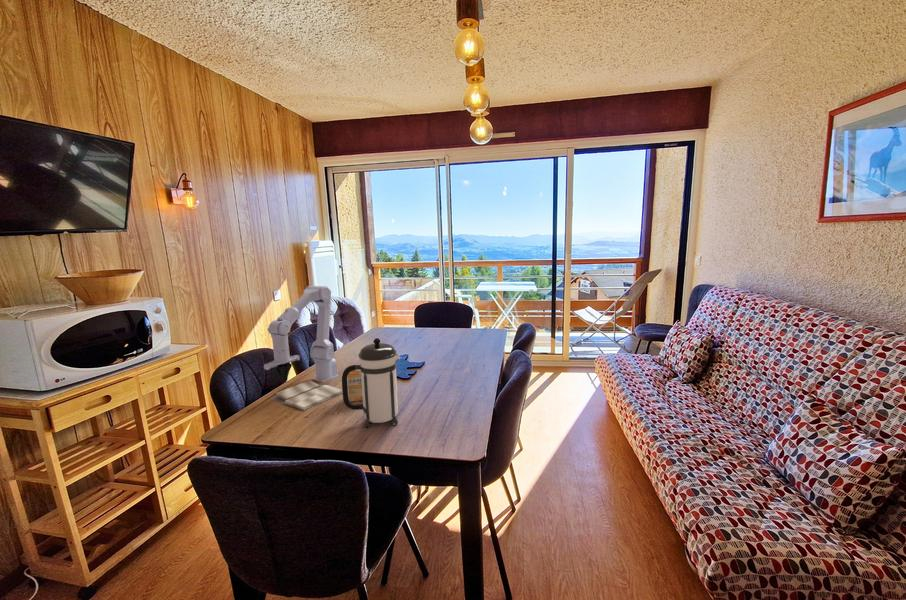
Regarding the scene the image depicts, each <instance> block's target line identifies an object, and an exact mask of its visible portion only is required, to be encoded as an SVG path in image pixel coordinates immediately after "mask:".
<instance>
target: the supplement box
mask: <svg viewBox="0 0 906 600" xmlns="http://www.w3.org/2000/svg"><path fill="white" fill-rule="evenodd" d="M347 385H348V398H349V401H350V402H351V403H352V402H358V401H363V395H362V380H361V371H360V369H359V370H354V371H351V372H349V374H348V375H347Z"/></svg>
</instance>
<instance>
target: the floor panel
mask: <svg viewBox="0 0 906 600" xmlns="http://www.w3.org/2000/svg"><path fill="white" fill-rule="evenodd" d="M319 385H320V384H319ZM341 395H343V392H342V388H338V387H335V386H332V385H327V384H323V385H322V384H321V385H320V387H318V388H315V389H313V390H310V391H308V392H305V393H303V394H300V395H298V396H295V397H293V398H290V399H288V400H286V401H285V400H284V399H282V398H280V397H278V396H277V395H276V396H274V397H272V398H270V400H271V401H275V402H278V403H281V404H283V405H285V406H288V407H292V408H293V409H297V410H299V411H301V412H305V411H307V410H309V409H310V410H311V409H312V408H314V407H315V406H318V405H320V404H323V403H325V402H328V401H329V400H332V399H333V398H336V397H338V396H341Z"/></svg>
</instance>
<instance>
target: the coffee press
mask: <svg viewBox="0 0 906 600" xmlns="http://www.w3.org/2000/svg"><path fill="white" fill-rule="evenodd" d="M358 358H359V364H352V365H348V366H347V367H345V368H344V371H343V372H342V376H341V389H342V392H343V394H342V399H343V401H342V402H343V403H344V405H345V407H347V409H350V410H354V411H355V410H357V411H359V410H362V411H363V417H364V419H365V422H364V425H363V428H365V429H369V428H370V427H371V426H372V424H381V423H386V422H390V423H391V424H392V426H396V425H398V423H399V421H398V420H397V416H398V414H399V402H398V386H397V384H398V383H397V382H398V381H397V367H398V366H397V360H401V359H402V358H401V356H400V354H398V353H397V350H396V349H395V348H394V346H392V345H391V344H389V343H383V342H381V339H380V338H376V337H375V338H374V340H373V343H371V344H367V345H365V346H364V347H362V348H361V349H360V351H359V353H358ZM359 369H360V371H361V380H362V395H363V400H362V403H359V404H355V403H352V402H350V401H349V395H348V378H347V375H348V374H349V372H351V371H354V370H359Z"/></svg>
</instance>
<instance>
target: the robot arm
mask: <svg viewBox="0 0 906 600" xmlns="http://www.w3.org/2000/svg"><path fill="white" fill-rule="evenodd" d="M331 297H332V290H331V289H330V288H329V287H328V286H327V285H308V286H306V287H305V289H303V294H302V295H300V297H299V298H298V299H297V301H296V303H294V305H293V306H291V307H286V308H285V309H284V311H283V313H282V314H280V315H279V316H278V317H277V319H276V320H272V321H271V322H270V323H269V324H268V328H267V332H268V333H269V335H270V338H271V339H272V347H273V358H274V360H272V361H269V362H268V363H267V362H266V363H264V364H263V368H264V370H266V371H269V370H270V369H273V368H274V369H275V371H276V372H277V375H278V376H279V378H280V382H283V383H286V382H288V379H289V374H290V370H291V368H292V367H293V365H292V362H296V361H300V359H301V358H300V355H299V354H295V355H290V346H289V336H288V334H289V333H290V332H291V327H292V325H293V324H294V323H295V322H296V321H297V319H299V317H300V312H301V311H302V310H303V309H304V308H306V307H307V306H308V304H309V303H311V302H313V303H315V305H316V306H317V307H318V309H317V321H316V322H317V325H316V338H315V340H314V342H313V343H311V348H310V351H309V355H310V358H311V359H312V360H313V362H314V369H315V370H314V371H315V377H313V378H311V379H312V380H314V381H317V382H321V383H324V382H327V381H329V380H332V379H334V378H337V377H339V376H340V375H339V373H338V363H337V360H336V359H335V358H334V356H335V350H334V344H333V343H332V342H331V341H330V325H331V307H332V305H331V304H332V302H331V299H332V298H331Z"/></svg>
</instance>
